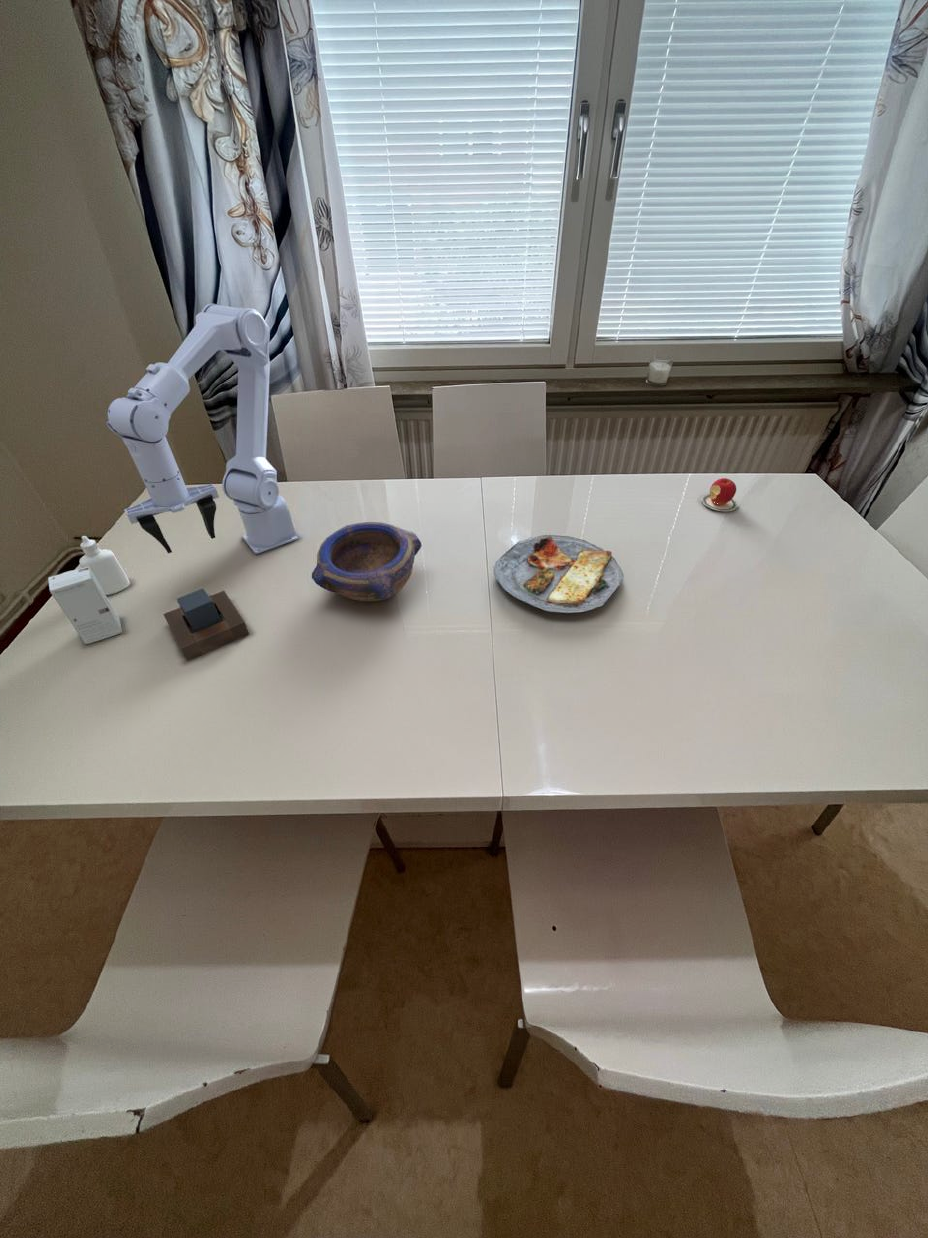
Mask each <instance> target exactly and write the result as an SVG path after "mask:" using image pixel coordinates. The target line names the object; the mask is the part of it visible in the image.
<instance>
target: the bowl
mask: <svg viewBox="0 0 928 1238" xmlns="http://www.w3.org/2000/svg"><path fill="white" fill-rule="evenodd" d="M421 549H422V542H421V540H420V538H419V537H418V535H417V534H416V533H415V532H413V531H410V530H406V529H403V528H401V527H398V526H396V525H394V524H391V523H386V522H381V521H365V522H358V523H352V524H346V525H344V526H343V527H341V528H339V529H337V530H336V531H334V532H332V534H330V535H329V536H327V537H326V538H325V539H324V540H323V542H322V543H321V544H320V546H319V549H318V551H317V554H316V566H315V567H314V569H313V571H312V572H311V579H312V580H313V582H314V583H315V584H316V585H317V586H319V587H320V588H322V589H323V590H326V591H328V592H331V593H333V594H337V595H340V596H342V597H345V598H346V599H349V600H353V601H354V600H355V601H361V602H375V601H376V602H378V601H384V600H388V599H390V598H392V597H393V596H394V595H395V594H396V593H398V592H399V591H401V589H403V587H405V585H406V584H407V583H408V581H409V580H410V578H411V576H412V574H413V570H414V562H415V557H416V555H417V554H418V552H419V551H420V550H421Z"/></svg>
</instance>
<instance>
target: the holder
mask: <svg viewBox="0 0 928 1238" xmlns="http://www.w3.org/2000/svg"><path fill="white" fill-rule="evenodd" d="M208 596H209V597H210V598H211V600H212V601H213V604H214V606H215V608H216V610H217V613H218V615H219V617H220V618H221V622H219V623H217V624H215V625H212V626H210V627H207V628H205V629H202V630H200V631H198V632H195V633H194V632H193V633H192V631H190V628H191V627H190V625H189V623H188V621H187V619H186V617H185V615H184V613H183V611H182V609H181V607H180V606H179V607H177V608H175V609H173V610H170V611H168V612H167V611H166V612H165V613H162V614H163V617H164V619H165V621H166V623H167V626H168V627H169V629H170V631H171V632H172V635H173V638H174V639H175V642H176V643H177V646H178V647H179V650H180V651H181V653H182V655H183V657H184V659H185V661H186V662H189V661H190V660H193V659H195V658H198V657H200V656H202V655H204V654H207V653H210V652H211V651H214V650H216V649H219V648H221V647H224V646H225V645H227V644H230V643H232V642H234V641H237V640H239V639H242V638H245V637H246V636H248V635H250V632H249V629H248V627H247V624H246V622H245V620H244V619H243V617H242V615H241V614H240V612H239V611H238V609H237V608H236V606H235V604H233V602H232V600H231V598H230V597H229V596H228V594H227V593H226V591H225V590H222V591H219V592H217V593H214V594H211V595H208Z"/></svg>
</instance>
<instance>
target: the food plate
mask: <svg viewBox="0 0 928 1238" xmlns="http://www.w3.org/2000/svg"><path fill="white" fill-rule="evenodd" d="M492 571H493V576H494V578H495V580H496V581H497V582H498V583H499V584H500V585H501V587H502V589H503V590H504V591H505V592H506V593H507V592H508V594H509V595H511V596H512V597H514V598H515V599H517V600H520V601H522V602H524V603H525V604H528V605H529V606H532V607H535V608H538V609H541V610H543V611H545V612H549V613H550V612H551V613H565V614H568V613H570V614H574V613H582V612H588V611H592V610H594V609H598V608H599V607H601V608H602V607H603V606H604V605H605V604H606V603H607V601H608V600H609V598H611V597H612V595H613V594H614V593H615V591H616V590H617V589H618V587H619V586H620V585H621V584H622V582H623V581H624V573H623V570H622V569H621V567H620V565H619V564H618V562H617V561H616V559H615V557H614V556H613V553H612V551H611V550H604V549H603V548H602V547H600V546H597V545H596V544H593V543H591V542H589V541H587V540H585V539H581V538H579V537H573V536H568V535H554V534H543V535H538V536H534V537H528V538H526V539H524V540H519V541H518V542H516V543H514V545H513V546H512V547H511V548H509V549H508V550H507V551H505V553H504V554H503V555H501V557H499V558H498V559H497V560H496V561H495V563H494V565H493V570H492Z"/></svg>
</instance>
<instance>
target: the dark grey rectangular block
mask: <svg viewBox="0 0 928 1238" xmlns="http://www.w3.org/2000/svg"><path fill="white" fill-rule="evenodd" d="M209 596H210V595H209V594H208V593H207V591H206V590H205V588H203V587H202V588H199V589H197V590H194V591H192V592H189V593H187V594H185V595H182V596H180V597H177V598H176V601H177V603H178V606H179V608H180V607H181V609H182V611H183V613H184V615H185V617H186V619H187V621H188V623H189V625H190V627H189V628H190V629H191V631H192V632H193V633H195V632H198V631H200V630H202V629H205V628H207V627H210V626H212V625H215V624H217V623H219V622H222V618H221V616H220V615H218V613H217V610H216V608H215V606H214V604H213V601H212V600H211V598H210V597H209Z"/></svg>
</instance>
